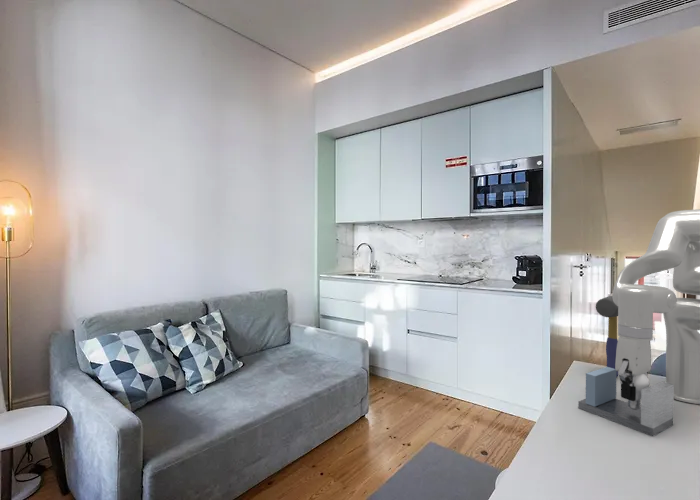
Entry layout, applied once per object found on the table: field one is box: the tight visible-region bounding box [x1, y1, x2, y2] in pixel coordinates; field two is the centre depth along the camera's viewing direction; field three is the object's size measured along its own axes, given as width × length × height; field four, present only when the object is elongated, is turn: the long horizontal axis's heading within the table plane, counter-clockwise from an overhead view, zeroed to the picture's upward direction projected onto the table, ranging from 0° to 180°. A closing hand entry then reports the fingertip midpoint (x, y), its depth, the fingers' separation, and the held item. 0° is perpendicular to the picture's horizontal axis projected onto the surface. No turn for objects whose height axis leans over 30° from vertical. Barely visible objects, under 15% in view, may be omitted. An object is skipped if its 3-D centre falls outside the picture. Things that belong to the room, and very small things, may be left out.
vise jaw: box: [585, 366, 617, 407], centre depth 106 cm, size 12×2×9 cm, turn 119°
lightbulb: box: [627, 371, 650, 410], centre depth 98 cm, size 6×6×11 cm
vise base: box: [577, 381, 675, 437], centre depth 101 cm, size 12×18×11 cm, turn 29°
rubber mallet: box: [595, 295, 619, 379], centre depth 130 cm, size 12×8×30 cm, turn 124°
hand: (634, 396), depth 98 cm, fingers closed on lightbulb, 6 cm apart
